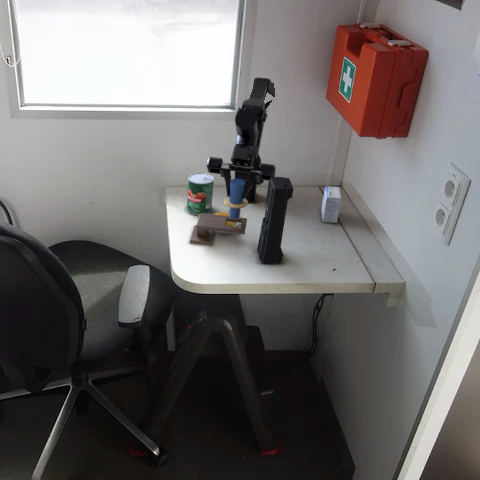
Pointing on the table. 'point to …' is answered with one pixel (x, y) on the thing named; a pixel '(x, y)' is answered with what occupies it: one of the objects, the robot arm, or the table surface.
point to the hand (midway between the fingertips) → (235, 197)
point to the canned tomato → (200, 193)
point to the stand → (214, 227)
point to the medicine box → (331, 204)
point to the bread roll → (230, 224)
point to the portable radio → (274, 220)
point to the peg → (236, 198)
